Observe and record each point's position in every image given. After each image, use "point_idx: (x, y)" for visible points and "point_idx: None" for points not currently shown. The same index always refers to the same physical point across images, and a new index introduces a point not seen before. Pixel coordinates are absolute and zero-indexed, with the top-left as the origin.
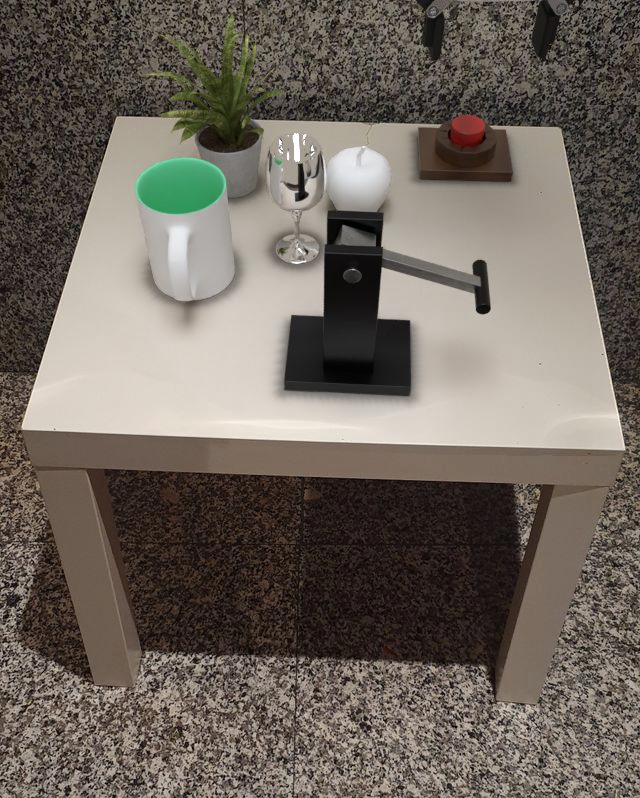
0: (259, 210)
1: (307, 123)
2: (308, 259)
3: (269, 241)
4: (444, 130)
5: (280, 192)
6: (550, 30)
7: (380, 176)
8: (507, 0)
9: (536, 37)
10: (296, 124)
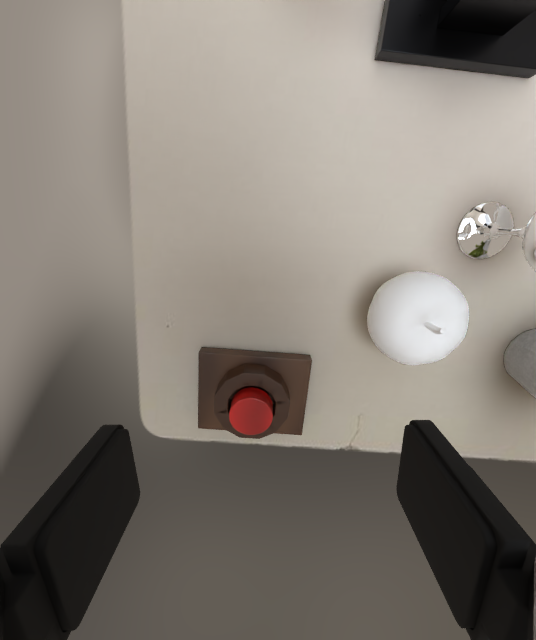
0: (512, 305)
1: None
2: (477, 207)
3: (515, 247)
4: (278, 416)
5: None
6: (52, 492)
7: (403, 297)
8: None
9: (119, 492)
10: None
